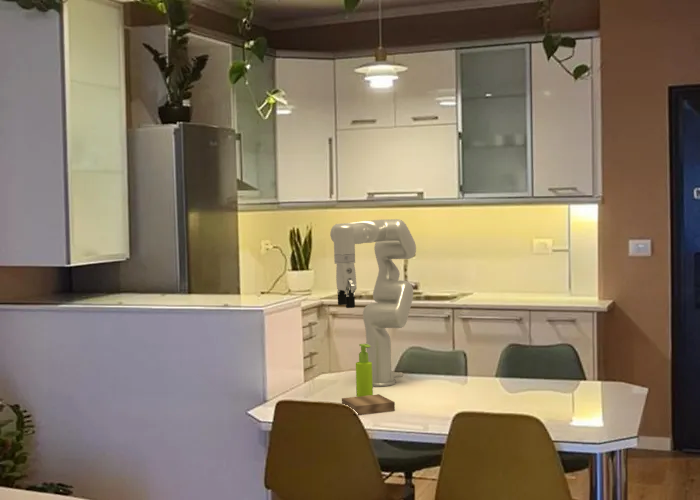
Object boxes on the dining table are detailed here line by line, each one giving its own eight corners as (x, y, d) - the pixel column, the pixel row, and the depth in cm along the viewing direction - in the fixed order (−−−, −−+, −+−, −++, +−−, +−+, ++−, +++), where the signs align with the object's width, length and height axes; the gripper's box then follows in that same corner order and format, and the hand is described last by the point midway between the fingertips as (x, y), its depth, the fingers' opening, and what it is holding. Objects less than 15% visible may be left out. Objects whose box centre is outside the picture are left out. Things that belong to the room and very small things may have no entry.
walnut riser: (379, 402, 318) (378, 394, 317) (394, 410, 305) (394, 402, 304) (341, 406, 313) (341, 398, 313) (356, 415, 300) (356, 406, 299)
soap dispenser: (362, 401, 320) (361, 346, 319) (353, 398, 326) (352, 343, 325) (377, 399, 323) (375, 344, 322) (368, 396, 329) (366, 342, 328)
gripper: (362, 259, 317) (363, 308, 317) (347, 257, 333) (348, 303, 334) (341, 261, 314) (343, 309, 315) (328, 258, 331) (329, 304, 332)
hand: (346, 306), depth 325 cm, fingers open, 9 cm apart
